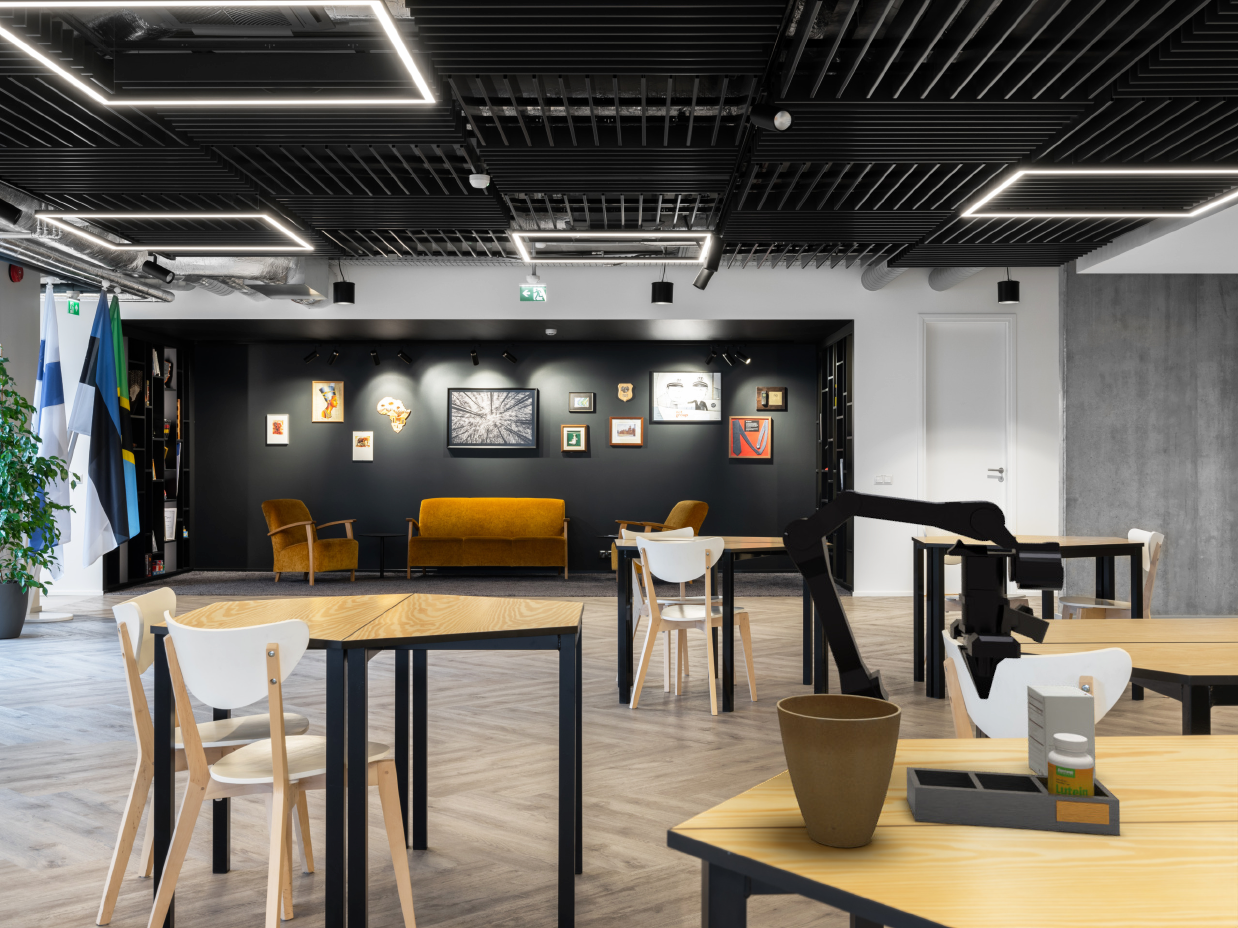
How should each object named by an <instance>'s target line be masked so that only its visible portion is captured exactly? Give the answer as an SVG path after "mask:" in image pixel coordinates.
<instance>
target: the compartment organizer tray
mask: <svg viewBox="0 0 1238 928" xmlns="http://www.w3.org/2000/svg"><path fill="white" fill-rule="evenodd" d="M906 800H907V803H908V805H909V808H910V811H911V814H912V817H913V819H914V822H923V823H935V824H950V825H962V826H963V825H964V826H981V827H994V828H1007V829H1008V828H1009V829H1020V830H1021V829H1023V830H1037V831H1047V832H1048V831H1050V832H1051V831H1052V832H1065V833H1078V834H1079V833H1080V834H1093V835H1094V834H1095V835H1108V836H1120V835H1121V823H1120V822H1121V821H1120V819H1121V816H1120V812H1121V811H1120V809H1121V808H1120V799H1119V797H1117V796H1115V794H1113V793H1112V792H1111V790H1109V789H1108V788H1107V787H1106V786H1105V785H1104V784H1103V783H1102V782H1101V781H1100V780H1099V779H1098V778H1094V796H1083V795H1067V794H1051V793H1049V792H1048V775H1038V774H1030V773H1015V772H1013V773H1012V772H1009V773H1008V772H996V771H995V772H994V771H979V770H978V771H976V770H962V769H960V770H959V769H944V768H932V767H931V768H929V767H927V768H925V767H912V766H907V767H906Z"/></svg>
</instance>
